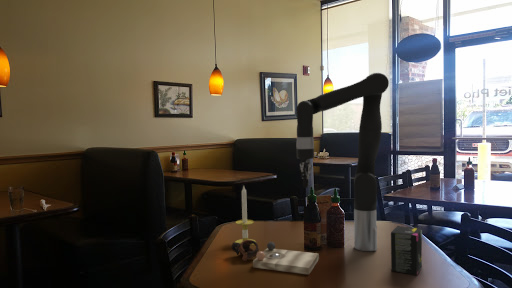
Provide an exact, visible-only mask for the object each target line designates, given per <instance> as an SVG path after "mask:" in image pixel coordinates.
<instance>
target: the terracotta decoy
mask: <svg viewBox="0 0 512 288" xmlns="http://www.w3.org/2000/svg"><path fill="white" fill-rule="evenodd" d="M263 251H264V250H263ZM263 251H261V250H259V252H258V253H257V254H256V256H255V257H256V258H257V259H258V260H263V259H264V258H265V253H264V252H263Z"/></svg>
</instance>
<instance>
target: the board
mask: <svg viewBox="0 0 512 288" xmlns="http://www.w3.org/2000/svg"><path fill="white" fill-rule="evenodd" d="M263 252H264V253H265V258H264V259H263V260H258V259H257V257H256V258H255V259H253V261H252V268H257V269H262V270H264V269H265V270H272V271H279V272H287V273H292V274H293V273H294V274H301V275H302V274H303V275H310V273H311V272H312V271H313V269H314V268H315V266H316V265H317V263H318V261H319V260H320V257H319V256H320V255H319V253H317V252H315V253H314V252H307V251H299V250H289V249H282V248H281V249H280V248H275V249H274V250H269V249H268V248H266V249H264V250H263ZM273 254H278V255H279V256H280V257H278V258H272V255H273Z"/></svg>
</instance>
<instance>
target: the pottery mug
mask: <svg viewBox="0 0 512 288" xmlns="http://www.w3.org/2000/svg"><path fill="white" fill-rule="evenodd" d="M253 240H254V239H252V240H244V241H243V242H242V243H241V244H240V243H237V242H235V241H234V242H232V243H231V249H232V251H233V252H234V253H235V254H236V256H239V255H240V256H242V261H244V262H247V260H249V259H252V258H253V259H254V258H255V257H256V254H257V253H258V252H259V251H260V249H259V245H258V243H257V241H256V240H255V241H256V242H255V241H253ZM252 244H254V246H255V249H253V248H251V246H253V245H252ZM250 245H251V246H250Z"/></svg>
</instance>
